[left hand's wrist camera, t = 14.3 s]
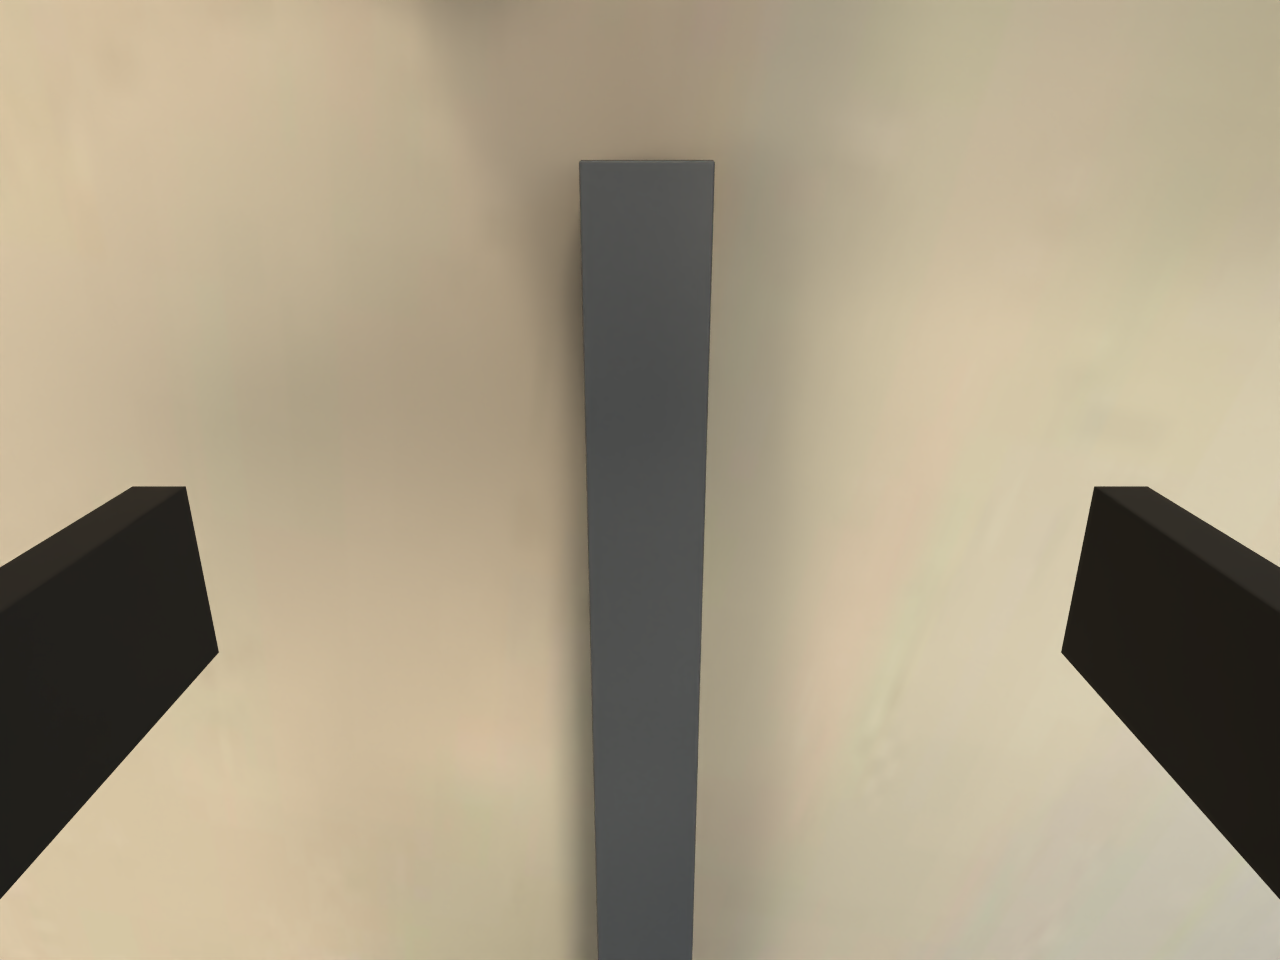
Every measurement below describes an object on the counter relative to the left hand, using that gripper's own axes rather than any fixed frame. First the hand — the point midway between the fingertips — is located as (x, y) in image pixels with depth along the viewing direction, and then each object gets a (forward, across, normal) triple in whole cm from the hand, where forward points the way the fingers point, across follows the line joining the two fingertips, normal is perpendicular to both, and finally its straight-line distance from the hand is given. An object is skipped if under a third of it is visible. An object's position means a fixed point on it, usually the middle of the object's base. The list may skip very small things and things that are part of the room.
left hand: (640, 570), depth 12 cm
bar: (+25, 0, -33) cm, 42 cm away
